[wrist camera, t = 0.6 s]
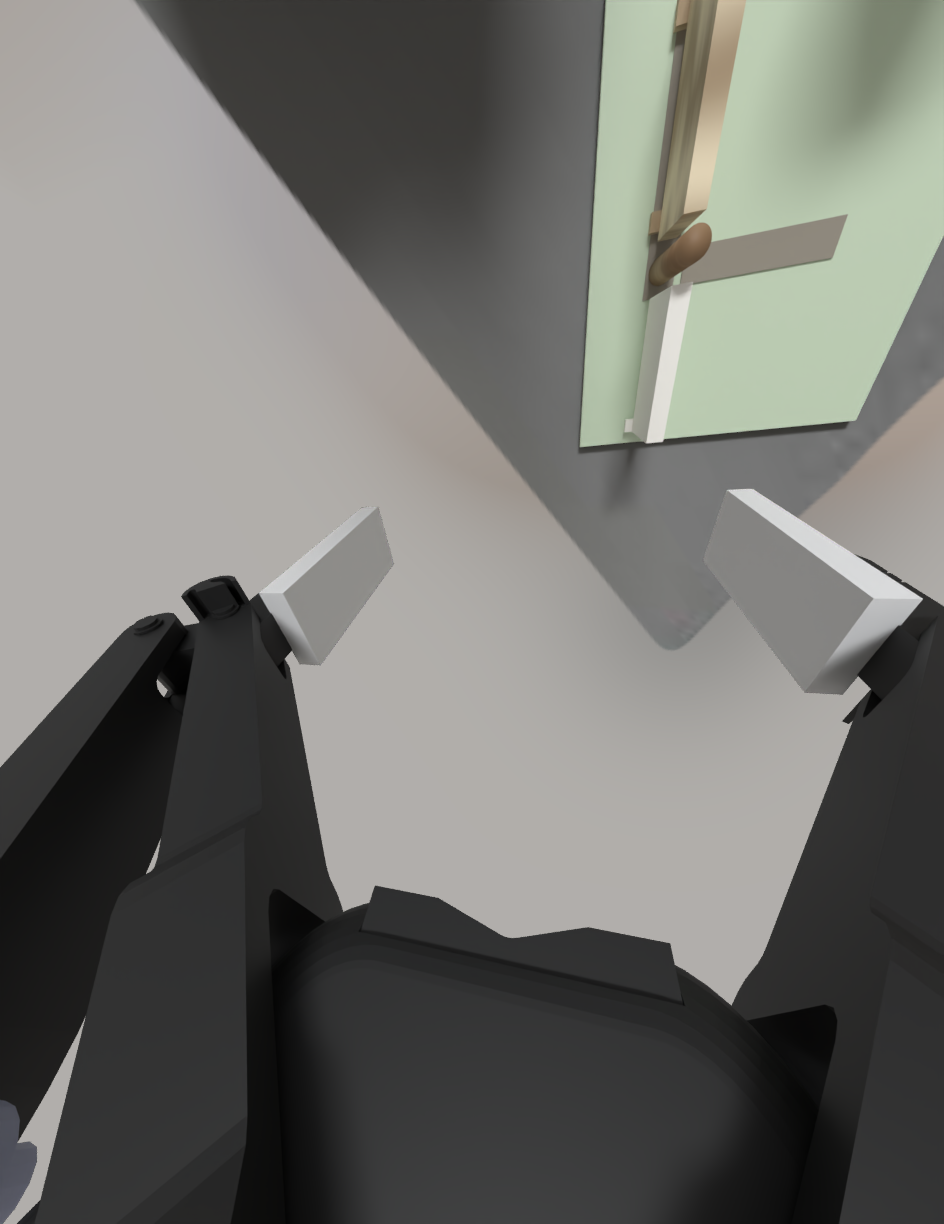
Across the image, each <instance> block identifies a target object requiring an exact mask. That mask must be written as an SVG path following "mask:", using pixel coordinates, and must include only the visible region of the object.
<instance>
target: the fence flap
mask: <svg viewBox="0 0 944 1224" xmlns="http://www.w3.org/2000/svg"><path fill="white" fill-rule="evenodd" d="M692 285H693V282H689V283H683V284H678V285H673V286H670V287H669V288H667V289H665V290H664V291H662V292H660V293H659V294H657V295H655V296H654V297H652V298H650V301H649V308H648V315H647V323H646V330H645V337H644V344H643V352H642V359H641V366H640V374H639V381H638V388H637V396H636V403H635V410H634V417H633V419H625V425H624V432H633V433H634V434H635V435H636V436H638V437H639V438H640V439H641V440H643V441H644V442H645V443H656V442H663V439H664V434H665V429H666V423H667V418H668V413H669V407H670V402H671V397H672V391H673V386H674V381H675V376H676V370H677V365H678V360H679V354H680V349H681V344H682V338H683V333H684V328H685V323H686V317H687V312H688V307H689V301H690V296H691V291H692Z"/></svg>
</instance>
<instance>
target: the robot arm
mask: <svg viewBox="0 0 944 1224" xmlns="http://www.w3.org/2000/svg"><path fill="white" fill-rule="evenodd" d="M703 562H704V563H705V564H706V565H707V567H708V568H709V569H710V571H711V572H712V573H713V574H714V576H715V577H716V578H717V580H718V581H719V582H720V584H721V585H722V586H723V587H724V589H725V590H726V591H727V593H728V594H729V595H730V597H731V598H732V599H733V600H734V602H735V603H736V604H737V606H738V607H739V608H740V609H741V611H742V612H743V613H744V615H745V616H746V617H747V619H748V620H749V621H750V622H751V624H752V625H753V626H754V628H755V629H756V630H757V631H758V633H759V634H760V635H761V637H762V638H763V639H764V641H765V642H766V643H767V644H768V646H769V647H770V648H771V650H772V651H773V652H774V654H775V655H776V656H777V657H778V659H779V660H780V661H781V663H782V664H783V665H784V667H785V668H786V669H787V670H788V672H789V673H790V674H791V676H792V677H793V678H794V679H795V681H796V682H797V683H798V685H799V686H800V687H801V689H802V690H803V691H804V692H805V693H823V694H824V693H825V694H840V695H842V694H843V693H844V692H845V691H846V690H847V689H848V688H849V686H850V685H851V684H852V683H853V682H854V680H855V679H856V678H857V677H858V676H859V677H860V678H861V679H862V680H863V681H864V682H865V683H866V684H867V685H868V686H869V687H870V688H871V690H870V691H869V692H868V693H867V694H866V695H865V697H864V698H863V699H862V700H861V701H860V702H859V703H858V704H857V705H856V706H855V708H854V709H853V710H852V711H851V712H850V713H849V714H848V715H847V716H846V717H845V719H844V720H843V722H845V723H847V724H849V723H850V722H852V721H853V722H852V725H851V728H850V730H849V733H848V735H847V738H846V741H845V743H844V746H843V748H842V751H841V753H840V756H839V759H838V761H837V764H836V767H835V769H834V772H833V775H832V777H831V780H830V783H829V785H828V787H827V791H826V793H825V795H824V798H823V801H822V803H821V806H820V808H819V811H818V814H817V816H816V819H815V821H814V824H813V827H812V830H811V832H810V834H809V837H808V840H807V843H806V845H805V848H804V850H803V853H802V856H801V858H800V861H799V863H798V866H797V869H796V871H795V874H794V876H793V879H792V882H791V884H790V887H789V889H788V892H787V895H786V897H785V900H784V902H783V905H782V908H781V910H780V913H779V916H778V918H777V921H776V924H775V926H774V929H773V931H772V934H771V936H770V939H769V942H768V944H767V947H766V949H765V951H764V954H763V956H762V957H761V959H760V961H759V963H758V964H757V965H756V966H755V968H754V969H753V970H752V971H751V973H750V974H749V975H748V977H747V978H746V979H745V981H744V982H743V984H742V986H741V988H740V989H739V991H738V993H737V995H736V997H735V999H734V1002H733V1004H732V1006H731V1005H730V1004H729V1003H727V1002H726V1001H725V1000H724V999H723V998H722V997H720V996H719V995H718V994H717V993H715V992H714V991H713V990H712V989H711V988H709V987H708V986H707V985H705V984H704V983H703V982H701V981H700V980H698V979H697V978H695V977H694V976H692V975H691V974H689V973H688V972H686V971H685V970H683V969H681V968H679V967H678V966H676V965H674V959H673V955H672V950H671V945H670V943H665V942H660V941H655V940H650V939H645V938H639V937H635V936H630V935H625V934H619V933H614V932H609V931H604V930H599V929H594V928H589V927H588V928H581V929H574V930H567V931H560V932H554V933H547V934H540V935H533V936H527V937H520V938H507V937H504V936H502V935H500V934H498V933H497V932H495V931H493V930H492V929H490V928H488V927H486V926H485V925H483V924H481V923H480V922H478V921H476V920H475V919H473V918H471V917H469V916H468V915H466V914H464V913H462V912H461V911H459V910H457V909H456V908H454V907H453V906H451V905H449V904H448V903H446V902H444V901H442V900H441V899H439V898H435V897H430V896H425V895H420V894H415V893H410V892H404V891H400V890H395V889H389V888H384V887H379V886H375V887H374V890H373V893H372V897H371V900H370V903H367V904H363V905H361V906H357V907H354V908H351V909H349V910H347V911H345V912H343V910H342V906H341V903H340V901H339V897H338V895H337V892H336V891H335V888H334V886H333V884H332V882H331V880H330V877H329V874H328V871H327V866H326V862H325V857H324V851H323V846H322V840H321V835H320V829H319V824H318V818H317V813H316V809H315V802H314V797H313V791H312V786H311V780H310V775H309V770H308V764H307V759H306V753H305V748H304V743H303V737H302V732H301V727H300V721H299V716H298V710H297V705H296V700H295V694H294V689H293V683H292V678H291V672H290V667H289V666H288V664H287V662H286V661H285V658H286V656H287V655H288V654H289V653H290V652H291V651H293V653H294V655H295V657H296V658H297V660H298V662H299V663H300V664H309V665H321V664H322V663H323V661H324V660H325V659H326V657H327V656H328V654H329V653H330V652H331V650H332V649H333V647H334V646H335V645H336V643H337V642H338V641H339V639H340V638H341V636H342V635H343V634H344V632H345V631H346V630H347V628H348V627H349V625H350V624H351V622H352V621H353V620H354V618H355V617H356V615H357V614H358V613H359V612H360V610H361V609H362V607H363V606H364V605H365V603H366V602H367V600H368V599H369V598H370V596H371V595H372V594H373V592H374V591H375V589H376V588H377V587H378V585H379V584H380V582H381V581H382V580H383V578H384V576H385V575H386V574H387V573H388V571H389V570H390V569H391V567H392V566H393V564H394V563H393V559H392V555H391V552H390V548H389V545H388V541H387V538H386V533H385V530H384V527H383V522H382V519H381V516H380V511H379V508H378V507H362V508H360V509H359V510H358V511H357V512H356V513H354V514H353V515H352V516H351V517H350V518H348V519H347V520H346V521H345V522H344V523H342V524H341V525H340V526H339V527H338V528H336V529H335V530H334V531H333V532H332V533H330V534H329V535H328V536H327V537H326V538H324V539H323V540H322V541H321V542H319V543H318V544H317V545H316V546H315V547H314V548H312V549H311V550H310V551H309V552H308V553H306V554H305V555H304V556H303V557H301V558H300V559H299V560H298V561H297V562H296V563H294V564H293V565H292V566H291V567H289V568H288V569H287V570H286V571H285V572H283V573H282V574H281V575H280V576H278V577H277V578H276V579H275V580H274V581H273V582H272V583H270V584H269V585H268V586H266V587H265V588H264V589H263V590H262V591H260V592H259V593H258V594H257V595H256V596H254V597H253V598H252V599H251V600H250V601H249V600H248V598H247V596H246V595H245V593H244V591H243V590H242V588H241V587H240V585H239V583H238V582H237V581H236V579H235V577H233V576H219V577H215V578H211V579H208V580H205V581H202V582H200V583H198V584H196V585H194V586H192V587H191V588H189V589H188V590H186V591H185V592H184V593H183V595H182V596H181V597H182V599H183V600H184V601H185V603H186V604H187V605H188V606H189V608H190V609H191V611H192V612H193V613H194V615H195V616H196V617H197V619H198V620H199V623H197V624H191V625H186V626H184V625H183V624H182V623H181V622H180V620H179V619H178V618H177V617H176V615H175V614H174V613H162V614H158V615H154V616H148V617H146V618H144V619H141V620H139V621H137V622H136V623H135V624H134V625H132V626H130V627H129V628H127V629H126V630H125V631H124V632H123V633H122V634H121V635H120V636H119V637H118V638H117V639H116V640H115V641H114V643H113V644H112V645H111V646H110V647H109V648H108V649H107V650H106V651H105V653H104V654H103V655H102V656H101V657H100V658H99V659H98V660H97V661H96V662H95V663H94V665H93V666H92V667H91V668H90V669H89V670H88V671H87V672H86V673H85V674H84V676H83V677H82V678H81V679H80V680H79V681H78V682H77V683H76V685H75V686H74V687H73V688H72V689H71V690H70V691H69V692H68V693H67V694H66V695H65V697H64V698H63V699H62V700H61V701H60V702H59V703H58V704H57V706H56V707H55V708H54V709H53V710H52V711H51V712H50V713H49V714H48V715H47V716H46V718H45V719H44V720H43V721H42V722H41V723H40V724H39V725H38V726H37V728H36V729H35V730H34V731H33V732H32V733H31V734H30V735H29V736H28V737H27V739H26V740H25V741H24V742H23V743H22V744H21V745H20V746H19V747H18V748H17V750H16V751H15V752H14V753H13V754H12V755H11V756H10V758H9V759H8V760H7V761H6V762H5V763H4V764H3V765H2V766H1V767H0V1224H3V1223H4V1222H5V1220H6V1219H7V1218H8V1217H9V1215H10V1214H11V1213H12V1211H13V1210H14V1209H15V1208H16V1206H17V1204H18V1202H19V1201H20V1199H21V1197H22V1196H23V1194H24V1192H25V1190H26V1188H27V1187H28V1185H29V1183H30V1180H31V1177H32V1174H33V1172H34V1168H35V1166H36V1163H37V1147H36V1146H35V1145H34V1144H32V1143H31V1142H23V1143H17V1142H18V1140H19V1139H20V1137H21V1135H22V1134H23V1132H24V1130H25V1128H26V1127H27V1125H28V1123H29V1122H30V1120H31V1118H32V1117H33V1115H34V1113H35V1111H36V1110H37V1108H38V1106H39V1104H40V1103H41V1101H42V1099H43V1098H44V1096H45V1094H46V1092H47V1091H48V1089H49V1087H50V1085H51V1083H52V1081H53V1080H54V1078H55V1076H56V1074H57V1072H58V1070H59V1068H60V1066H61V1064H62V1062H63V1060H64V1058H65V1057H66V1055H67V1053H68V1050H69V1049H70V1047H71V1045H72V1043H73V1041H74V1039H75V1037H76V1035H77V1034H78V1031H79V1029H80V1027H81V1025H82V1023H83V1021H84V1018H85V1016H86V1018H85V1022H84V1026H83V1030H82V1034H81V1038H80V1043H79V1046H78V1050H77V1054H76V1058H75V1062H74V1067H73V1070H72V1075H71V1078H70V1082H69V1087H68V1091H67V1095H66V1099H65V1103H64V1107H63V1111H62V1115H61V1119H60V1123H59V1127H58V1131H57V1135H56V1139H55V1143H54V1148H53V1152H52V1156H51V1160H50V1164H49V1167H48V1172H47V1176H46V1180H45V1184H44V1188H43V1192H42V1196H41V1200H40V1201H39V1202H38V1203H37V1204H36V1205H35V1206H34V1207H33V1208H32V1209H31V1210H30V1211H29V1212H28V1213H27V1214H26V1215H25V1216H24V1217H23V1218H22V1219H21V1220H20V1221H19V1222H18V1223H17V1224H944V606H942V605H940V604H939V603H938V602H936V601H934V600H933V599H931V598H930V597H928V596H926V595H925V594H923V593H922V592H920V591H918V590H917V589H915V588H913V587H912V586H910V585H909V584H907V583H905V582H901V581H902V580H901V579H899V578H898V577H896V576H894V575H893V574H891V573H887V570H885V569H883V568H882V567H880V566H879V565H877V564H875V563H874V562H872V561H871V560H868V559H866V558H863V557H860V556H858V555H855V554H852V553H851V552H849V551H848V550H846V549H845V548H843V547H842V546H840V545H839V544H837V543H836V542H834V541H832V540H831V539H829V538H827V537H826V536H825V535H823V534H822V533H820V532H818V531H817V530H815V529H814V528H812V527H810V526H809V525H808V524H806V523H804V522H803V521H801V520H800V519H798V518H797V517H795V516H794V515H792V514H790V513H789V512H787V511H786V510H784V509H783V508H781V507H780V506H778V505H776V504H775V503H773V502H772V501H770V500H769V499H767V498H766V497H764V496H762V495H761V494H759V493H758V492H756V491H755V490H753V489H739V490H727V491H726V494H725V497H724V500H723V503H722V506H721V509H720V512H719V515H718V518H717V520H716V523H715V526H714V529H713V532H712V535H711V538H710V541H709V544H708V547H707V550H706V553H705V556H704V559H703ZM157 679H158V680H159V681H160V682H161V683H162V684H163V686H164V687H165V688H166V689H167V690H168V691H167V693H166V695H165V696H164V697H163V696H162V695H161V693H160V692H159V690H158V688H157V682H156V681H157ZM160 839H161V842H160V848H159V853H158V858H157V861H156V864H155V867H154V869H153V870H152V871H151V872H149V873H147V874H146V872H147V870H148V867H149V865H150V863H151V860H152V858H153V855H154V853H155V851H156V848H157V846H158V843H159V841H160Z"/></svg>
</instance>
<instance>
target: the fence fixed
mask: <svg viewBox="0 0 944 1224" xmlns="http://www.w3.org/2000/svg"><path fill="white" fill-rule="evenodd" d="M745 4H746V0H677V6H676V14H675V22H674V30H673V33H675V32H678V31H681V30H684V29H687V31H686V38H685V45H684V52H683V60H682V67H681V74H680V82H679V89H678V96H677V104H676V111H675V118H674V125H673V133H672V140H671V147H670V155H669V162H668V169H667V177H666V184H665V191H664V198H663V206H662V210H659V211H655V212H652V213H651V215H650V223H649V231H648V235H653V234H657V233H659V235H658V242H659V241H664V240H668V239H673V238H677V237H678V236H679V235H680V234H681V233H682V232H683V231H684V230H685V229H686V228H687V227H688V226H689V225H690V224H691V223H693V222H694V221H695V220H696V219H697V218H698V217H699V216H700V215H701V214H702V213H703V212H704V211H705V210H706V209H707V206H708V200H709V195H710V190H711V185H712V179H713V174H714V169H715V163H716V158H717V153H718V147H719V142H720V137H721V131H722V126H723V121H724V116H725V110H726V105H727V100H728V94H729V89H730V84H731V78H732V73H733V68H734V62H735V57H736V52H737V47H738V41H739V36H740V31H741V25H742V20H743V15H744V9H745ZM711 240H712V231H711V228H710V226H709V225H708V224H706V223H702V222H701V223H697V224H695V225H693V226H692V227H691V228H690V229H689V230H687V231H686V232H685V233H684V234H683V235H682V236H681V237H680V238H679V239H678V240H677V241H676V242H674V243H673V244H672V245H671V246H670V247H669V248H668V249H667V250H666V251H665V252H664V253H663V254H661V255H660V256H659V257H658V258H657V259H656V260H655V261H654V262H653V264H652V265H651V267H650V270H649V281H650V283H651V284H652V285H654V286H660V285H662V284H664V283H665V282H667V281H668V280H670V279H671V278H673V277H674V276H676V275H677V274H679V273H680V272H682V271H683V270H685V269H686V268H688V267H689V266H691V265H692V264H694V263H696V262H697V261H698V260H700V259H701V258H702V257H703V256H704V255H705V254H706V252H707V251H708V249H709V247H710V244H711Z"/></svg>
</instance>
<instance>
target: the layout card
mask: <svg viewBox="0 0 944 1224" xmlns="http://www.w3.org/2000/svg"><path fill="white" fill-rule="evenodd" d="M676 6H677V0H605V14H604V31H603V49H602V66H601V83H600V100H599V118H598V135H597V152H596V169H595V187H594V204H593V221H592V238H591V256H590V273H589V290H588V307H587V325H586V342H585V359H584V376H583V394H582V411H581V428H580V445H579V446H580V447H587V446H597V445H607V444H618V443H628V442H638V441H643V440H641V439H640V438H639V437H638V436H636V435H635V434H634V433H633V432H624V425H625V419H633V417H634V410H635V403H636V396H637V388H638V381H639V374H640V366H641V359H642V352H643V344H644V337H645V330H646V323H647V315H648V308H649V301H650V298H652V297H654V296H655V295H657V294H659V293H660V292H662V291H664V290H665V289H667V288H669V287H670V286H673V285H678V284H683V283H689V282H693V285H692V291H691V296H690V301H689V307H688V312H687V317H686V323H685V328H684V333H683V338H682V344H681V349H680V354H679V360H678V365H677V370H676V376H675V381H674V386H673V391H672V397H671V402H670V407H669V413H668V418H667V423H666V429H665V434H664V439H670V438H680V437H690V436H701V435H711V434H721V433H732V432H742V431H753V430H763V429H773V428H784V427H794V426H804V425H815V424H825V423H836V422H846V421H856V419H857V417H858V415H859V413H860V410H861V408H862V406H863V404H864V402H865V400H866V398H867V396H868V394H869V391H870V389H871V387H872V385H873V383H874V381H875V379H876V377H877V375H878V373H879V370H880V368H881V366H882V364H883V362H884V360H885V358H886V356H887V354H888V351H889V349H890V347H891V345H892V343H893V341H894V339H895V337H896V335H897V332H898V330H899V328H900V326H901V324H902V322H903V320H904V318H905V316H906V313H907V311H908V309H909V307H910V305H911V303H912V301H913V299H914V297H915V295H916V292H917V290H918V288H919V286H920V284H921V282H922V280H923V278H924V276H925V273H926V271H927V269H928V267H929V265H930V263H931V261H932V259H933V257H934V254H935V252H936V250H937V248H938V246H939V244H940V242H941V240H942V238H943V236H944V0H746V4H745V9H744V15H743V20H742V25H741V31H740V36H739V41H738V47H737V52H736V57H735V62H734V68H733V73H732V78H731V84H730V89H729V94H728V100H727V105H726V110H725V116H724V121H723V126H722V131H721V137H720V142H719V147H718V153H717V158H716V163H715V169H714V174H713V179H712V185H711V190H710V195H709V200H708V206H707V209H706V210H705V211H704V212H703V213H702V214H701V215H700V216H699V217H698V218H697V219H696V220H695V221H694V222H693V223H691V224H690V225H689V226H688V227H687V228H686V229H685V230H684V231H683V232H682V233H681V234H680V235H679V236H678V237H677V238H673V239H668V240H664V241H659V242H658V235H659V233H657V234H653V235H648V231H649V223H650V215H651V213H652V212H655V211H659V210H662V206H663V198H664V191H665V184H666V177H667V169H668V162H669V155H670V147H671V140H672V133H673V125H674V118H675V111H676V104H677V96H678V89H679V82H680V74H681V67H682V60H683V52H684V45H685V38H686V31H687V29H684V30H681V31H678V32H675V33H673V30H674V22H675V14H676ZM701 222H702V223H706V224H708V225H709V226H710V228H711V231H712V240H711V244H710V247H709V249H708V251H707V252H706V254H705V255H704V256H703V257H702V258H701V259H700V260H698V261H697V262H696V263H694V264H692V265H691V266H689V267H688V268H686V269H685V270H683V271H682V272H680V273H679V274H677V275H676V276H674V277H673V278H671V279H670V280H668V281H667V282H665V283H664V284H662V285H660V286H654V285H652V284H651V283H650V281H649V270H650V267H651V265H652V264H653V262H654V261H655V260H656V259H657V258H658V257H659V256H660V255H661V254H663V253H664V252H665V251H666V250H667V249H668V248H669V247H670V246H671V245H672V244H673V243H674V242H676V241H677V240H678V239H679V238H680V237H681V236H682V235H683V234H684V233H685V232H686V231H687V230H689V229H690V228H691V227H692V226H693V225H695V224H697V223H701Z"/></svg>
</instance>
